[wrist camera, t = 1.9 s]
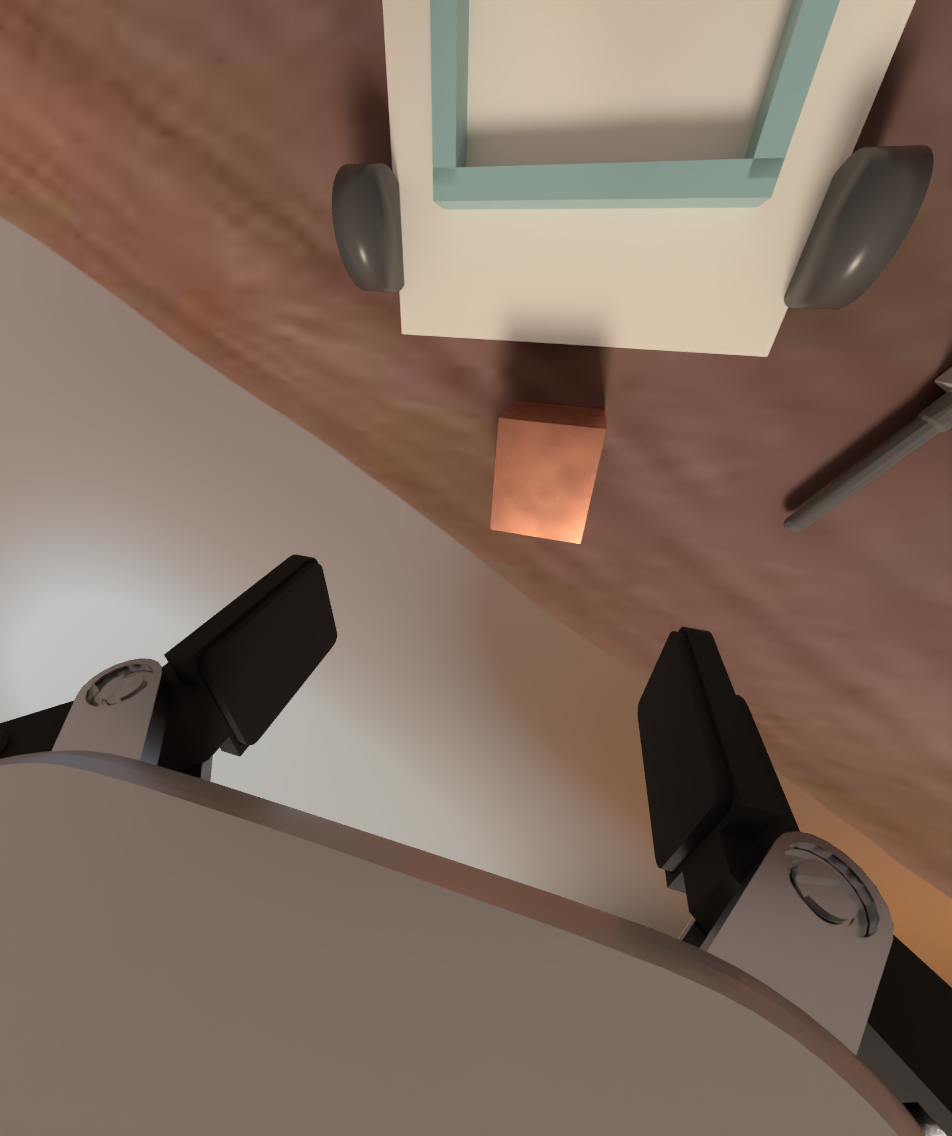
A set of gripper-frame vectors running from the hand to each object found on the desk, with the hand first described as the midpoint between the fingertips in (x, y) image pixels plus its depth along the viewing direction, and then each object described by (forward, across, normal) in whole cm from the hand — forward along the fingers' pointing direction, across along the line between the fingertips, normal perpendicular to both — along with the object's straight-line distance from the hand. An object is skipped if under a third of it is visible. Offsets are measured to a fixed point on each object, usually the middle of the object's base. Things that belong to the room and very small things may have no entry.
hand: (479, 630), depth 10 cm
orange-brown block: (+16, -1, 0) cm, 16 cm away
